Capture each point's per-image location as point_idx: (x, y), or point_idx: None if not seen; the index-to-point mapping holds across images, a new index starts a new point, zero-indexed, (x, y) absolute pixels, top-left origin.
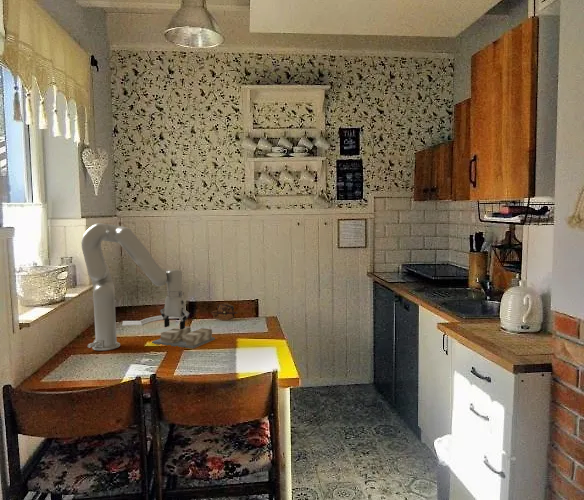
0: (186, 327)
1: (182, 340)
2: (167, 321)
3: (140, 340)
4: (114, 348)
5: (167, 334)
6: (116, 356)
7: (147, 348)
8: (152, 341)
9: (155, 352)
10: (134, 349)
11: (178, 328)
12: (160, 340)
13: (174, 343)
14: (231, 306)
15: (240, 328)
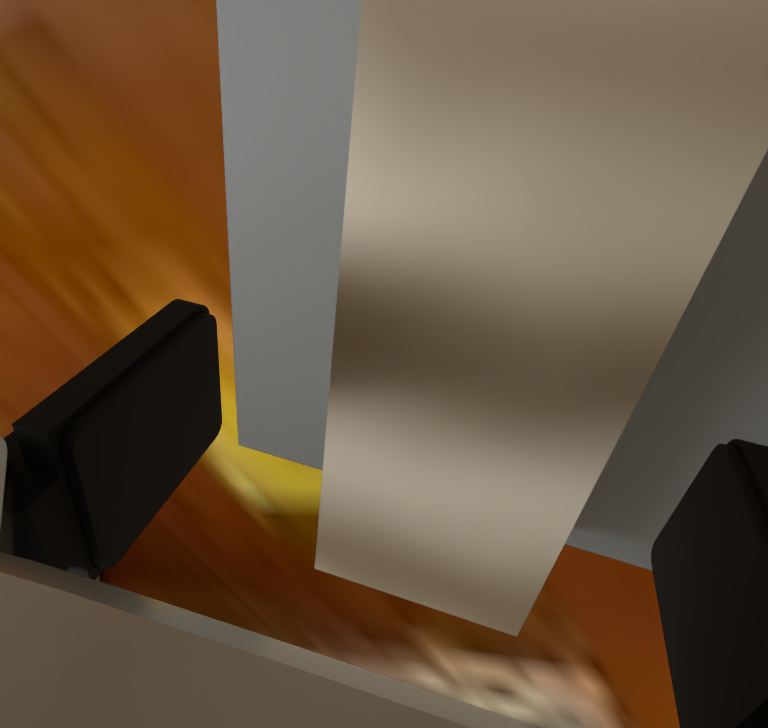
0: (711, 34)
1: (673, 390)
2: (138, 467)
3: (28, 315)
4: (98, 576)
5: (454, 603)
6: None
7: None
8: (244, 445)
9: (486, 674)
10: (246, 587)
11: (467, 232)
12: (307, 401)
13: (591, 529)
14: None
15: None
